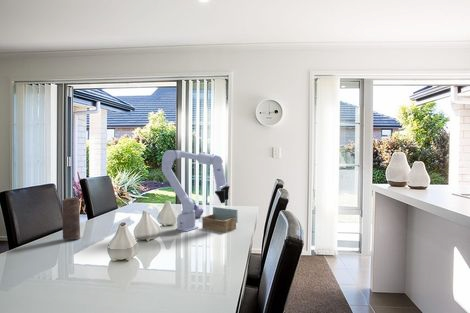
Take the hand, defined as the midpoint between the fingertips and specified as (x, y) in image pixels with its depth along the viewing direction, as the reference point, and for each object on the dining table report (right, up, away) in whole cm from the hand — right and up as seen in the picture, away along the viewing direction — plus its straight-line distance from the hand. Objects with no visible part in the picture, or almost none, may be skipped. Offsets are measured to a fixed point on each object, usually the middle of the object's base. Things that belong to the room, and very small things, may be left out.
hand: (224, 201), depth 169 cm
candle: (-73, -15, -22) cm, 78 cm away
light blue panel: (0, -11, +1) cm, 11 cm away
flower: (-19, -14, +23) cm, 33 cm away
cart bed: (-3, -14, -3) cm, 15 cm away
